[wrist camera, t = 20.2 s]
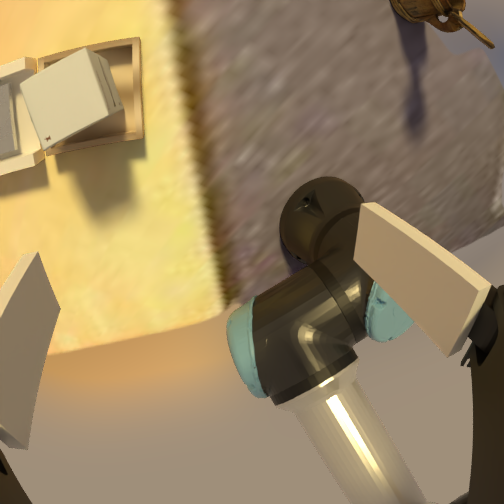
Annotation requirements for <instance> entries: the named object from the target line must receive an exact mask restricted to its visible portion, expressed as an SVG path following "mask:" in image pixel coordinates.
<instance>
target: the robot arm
mask: <svg viewBox="0 0 504 504" xmlns="http://www.w3.org/2000/svg"><path fill="white" fill-rule="evenodd" d="M280 235H281V238H282V241H283V243H284V245H285V247H286V248H287V249H288V251H289V252H290V253H291V254H292V256H293V257H295V258H296V259H297V260H298V261H300V262H302V263H304V264H307V265H308V266H306V267H304V268H303V269H301V270H300V271H298V272H296V273H295V274H293V275H291V276H290V277H288V278H287V279H285V280H283V281H282V282H280V283H278V284H277V285H275V286H273V287H272V288H270V289H268V290H267V291H265V292H263V293H262V294H260V295H258V296H257V295H256V296H254V297H252V298H251V300H250V301H249V302H247V303H246V304H244V305H243V306H241V307H240V308H238V309H237V310H235V311H234V312H233V313H232V314H231V315H230V316H229V319H228V321H227V340H228V344H229V348H230V352H231V355H232V358H233V361H234V363H235V366H236V368H237V370H238V372H239V375H240V377H241V379H242V380H243V382H244V383H245V384H246V385H247V386H248V389H249V391H250V392H251V393H252V394H253V395H254V396H255V397H257V398H267V397H268V396H270V398H271V399H272V401H273V403H274V404H275V406H276V407H277V408H279V409H283V410H287V411H291V412H292V413H294V414H295V415H296V417H297V418H298V420H299V422H300V423H301V425H302V427H303V429H304V430H305V432H306V433H307V435H308V437H309V439H310V440H311V442H312V443H313V445H314V447H315V448H316V450H317V451H318V453H319V455H320V456H321V458H322V460H323V461H324V463H325V464H326V466H327V468H328V469H329V471H330V472H331V474H332V475H333V477H334V479H335V480H336V482H337V483H338V485H339V486H340V488H341V490H342V491H343V493H344V494H345V495H346V497H347V499H348V500H349V502H350V503H351V504H437V503H433V502H432V503H431V502H427V500H426V498H425V497H424V495H423V493H422V491H421V489H420V488H419V486H418V484H417V482H416V481H415V479H414V477H413V475H412V473H411V472H410V470H409V468H408V466H407V465H406V463H405V461H404V459H403V458H402V456H401V454H400V452H399V451H398V449H397V447H396V445H395V444H394V442H393V440H392V438H391V437H390V435H389V433H388V431H387V430H386V428H385V426H384V425H383V423H382V421H381V419H380V418H379V416H378V414H377V413H376V411H375V409H374V408H373V406H372V404H371V402H370V401H369V399H368V397H367V396H366V394H365V393H364V391H363V389H362V387H361V385H360V384H359V382H358V381H357V379H356V371H357V367H358V363H359V358H358V356H357V355H356V353H355V351H354V350H353V348H352V347H353V345H355V344H356V343H358V342H359V341H361V340H362V339H364V338H365V337H367V336H369V337H370V338H372V339H373V340H376V341H378V342H386V341H387V340H393V339H395V338H397V337H398V336H400V335H401V334H403V333H404V332H405V331H406V330H407V329H408V328H409V327H410V326H411V325H412V324H413V323H414V322H415V323H416V324H417V325H418V326H419V327H420V328H421V329H422V330H423V332H424V333H425V334H426V335H427V336H428V337H429V338H430V339H431V340H432V341H433V342H434V343H435V344H436V346H437V347H438V348H439V349H440V350H441V351H442V352H443V354H444V355H445V356H446V357H447V358H448V357H449V356H451V355H453V354H455V353H456V352H458V351H460V350H461V349H462V347H463V345H464V343H465V341H466V339H467V337H469V338H470V339H471V340H472V343H471V345H470V347H469V349H468V350H467V352H466V354H465V356H464V358H463V359H462V361H461V366H464V364H465V362H466V361H467V359H469V358H470V361H469V363H468V365H467V367H471V376H472V393H473V451H472V465H471V477H470V486H469V492H467V493H465V494H464V495H462V496H460V497H458V498H457V499H456V500H454V501H453V502H451V503H450V504H504V285H501V286H499V287H498V289H496V288H495V287H494V286H493V285H491V284H490V283H489V282H488V281H486V280H485V279H484V278H483V277H481V276H480V275H479V274H477V273H476V272H475V271H474V270H473V269H471V268H470V267H469V266H467V265H466V264H465V263H463V262H462V261H461V260H459V259H458V258H457V257H455V256H454V255H453V254H451V253H450V252H448V251H447V250H446V249H444V248H443V247H441V246H440V245H439V244H437V243H436V242H434V241H433V240H432V239H430V238H429V237H427V236H426V235H424V234H423V233H421V232H420V231H418V230H417V229H416V228H414V227H413V226H411V225H410V224H408V223H407V222H405V221H403V220H402V219H400V218H399V217H397V216H396V215H394V214H393V213H391V212H390V211H388V210H386V209H385V208H383V207H382V206H380V205H378V204H377V203H375V202H373V203H365V202H364V199H363V197H362V196H361V194H360V193H359V192H358V190H357V189H356V188H354V187H353V186H352V185H350V184H349V183H347V182H345V181H344V180H342V179H339V178H336V177H320V178H317V179H314V180H311V181H309V182H307V183H306V184H304V185H303V186H301V187H300V188H299V189H298V190H296V191H295V192H294V194H293V195H292V196H291V197H290V199H289V200H288V202H287V203H286V205H285V207H284V209H283V212H282V215H281V220H280ZM59 312H60V306H59V304H58V302H57V299H56V297H55V295H54V292H53V290H52V287H51V285H50V282H49V280H48V277H47V275H46V272H45V269H44V267H43V264H42V261H41V258H40V256H39V253H38V251H37V252H32V253H27V254H23V255H22V256H21V258H20V259H19V261H18V262H17V264H16V265H15V267H14V268H13V270H12V271H11V273H10V274H9V276H8V278H7V279H6V281H5V282H4V284H3V286H2V287H1V289H0V440H1V441H2V442H4V443H5V444H6V445H7V446H8V447H9V448H17V449H26V450H28V445H29V437H30V430H31V424H32V418H33V412H34V406H35V402H36V397H37V392H38V387H39V383H40V379H41V375H42V370H43V367H44V363H45V359H46V355H47V352H48V348H49V344H50V341H51V338H52V334H53V331H54V328H55V324H56V321H57V318H58V315H59ZM0 504H32V503H31V501H30V500H29V498H28V496H27V495H26V493H25V492H24V490H23V489H22V487H21V485H20V483H19V482H18V480H17V478H16V476H15V475H14V473H13V471H12V469H11V468H10V466H9V464H8V462H7V460H6V458H5V456H4V454H3V453H2V451H1V450H0Z"/></svg>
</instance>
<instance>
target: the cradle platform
mask: <svg viewBox="0 0 504 504" xmlns="http://www.w3.org/2000/svg"><path fill="white" fill-rule="evenodd" d="M16 149H18V145H17V138H16V131H15V122H14V113H13V101H12V84H11V83H7V84H5V85H2V86H0V155H1V154H4V153H7V152H10V151H13V150H16Z"/></svg>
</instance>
